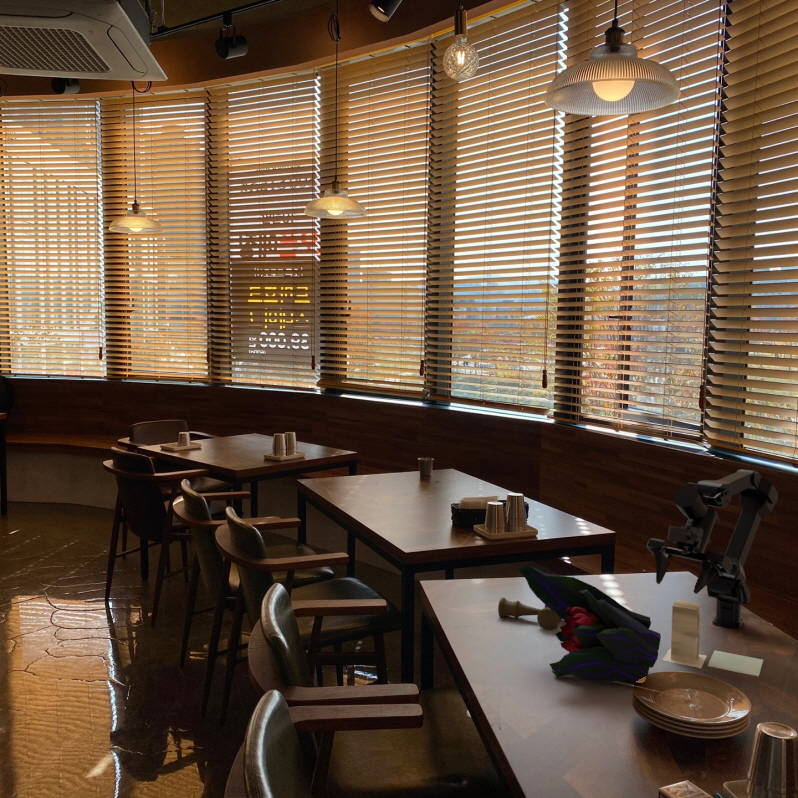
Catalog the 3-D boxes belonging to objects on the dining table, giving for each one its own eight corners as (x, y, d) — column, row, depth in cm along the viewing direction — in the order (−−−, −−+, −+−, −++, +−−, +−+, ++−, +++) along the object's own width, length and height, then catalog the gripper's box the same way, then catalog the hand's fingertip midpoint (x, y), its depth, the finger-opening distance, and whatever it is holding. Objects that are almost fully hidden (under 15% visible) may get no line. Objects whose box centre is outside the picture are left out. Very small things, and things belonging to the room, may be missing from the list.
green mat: (714, 652, 170) (714, 650, 170) (763, 661, 165) (763, 659, 165) (707, 667, 161) (707, 665, 161) (758, 677, 156) (758, 676, 156)
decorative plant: (635, 737, 150) (490, 687, 153) (632, 644, 172) (506, 602, 176) (673, 667, 139) (517, 615, 143) (665, 577, 162) (530, 535, 166)
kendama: (505, 612, 197) (581, 622, 189) (494, 625, 188) (574, 635, 180) (504, 590, 197) (581, 598, 188) (493, 601, 188) (573, 611, 180)
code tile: (669, 649, 171) (669, 648, 171) (707, 657, 167) (707, 655, 167) (662, 661, 164) (662, 660, 164) (701, 669, 160) (701, 668, 160)
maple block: (675, 651, 169) (676, 599, 168) (698, 656, 166) (700, 603, 166) (670, 659, 165) (672, 605, 164) (694, 664, 162) (696, 609, 162)
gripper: (648, 505, 180) (625, 563, 174) (724, 518, 166) (701, 581, 160) (667, 528, 186) (644, 584, 180) (742, 542, 172) (720, 604, 166)
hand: (675, 588), depth 171 cm, fingers open, 9 cm apart
